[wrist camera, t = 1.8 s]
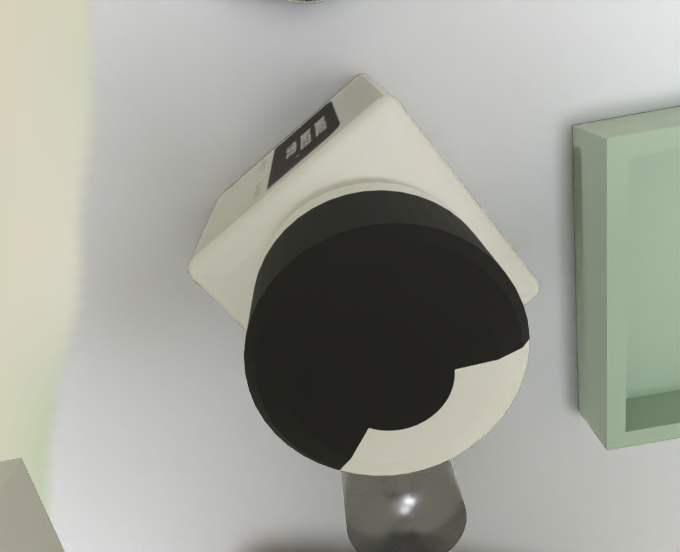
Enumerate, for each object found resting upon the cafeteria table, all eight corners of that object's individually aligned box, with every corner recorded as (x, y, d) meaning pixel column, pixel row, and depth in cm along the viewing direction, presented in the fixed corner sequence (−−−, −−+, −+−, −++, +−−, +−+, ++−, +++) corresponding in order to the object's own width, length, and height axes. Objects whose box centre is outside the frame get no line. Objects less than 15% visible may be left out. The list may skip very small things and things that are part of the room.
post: (434, 441, 30) (471, 557, 24) (344, 457, 30) (356, 576, 24) (424, 363, 29) (460, 465, 22) (329, 380, 29) (337, 486, 22)
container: (214, 199, 25) (134, 367, 13) (363, 68, 24) (428, 122, 12) (338, 328, 28) (366, 568, 16) (480, 218, 26) (634, 389, 14)
